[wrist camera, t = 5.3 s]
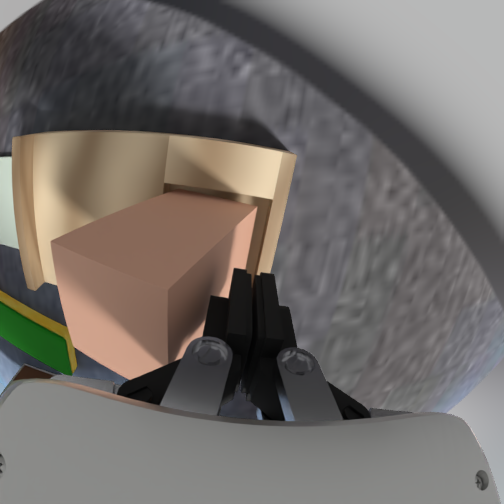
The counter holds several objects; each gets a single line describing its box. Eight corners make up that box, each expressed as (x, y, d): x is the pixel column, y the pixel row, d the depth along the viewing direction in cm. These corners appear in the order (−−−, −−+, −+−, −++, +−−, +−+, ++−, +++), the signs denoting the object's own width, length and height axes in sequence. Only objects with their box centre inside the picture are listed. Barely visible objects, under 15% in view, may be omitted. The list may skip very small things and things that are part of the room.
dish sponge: (78, 365, 27) (71, 378, 25) (4, 323, 25) (-4, 333, 23) (73, 327, 24) (64, 341, 22) (-5, 283, 22) (-16, 293, 20)
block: (257, 206, 16) (167, 290, 7) (242, 282, 18) (170, 399, 9) (178, 188, 17) (50, 240, 8) (172, 261, 19) (73, 346, 10)
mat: (36, 155, 16) (32, 156, 16) (42, 251, 20) (38, 254, 20) (-15, 157, 16) (-19, 158, 15) (-8, 238, 19) (-12, 240, 19)
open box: (289, 151, 17) (301, 157, 13) (255, 302, 22) (257, 340, 18) (49, 131, 16) (12, 137, 12) (54, 263, 21) (27, 288, 17)
